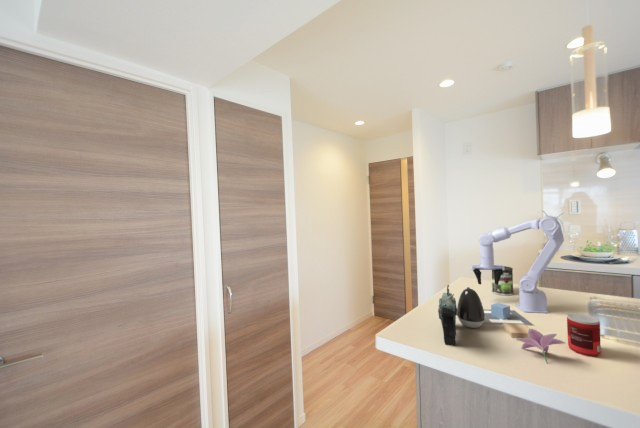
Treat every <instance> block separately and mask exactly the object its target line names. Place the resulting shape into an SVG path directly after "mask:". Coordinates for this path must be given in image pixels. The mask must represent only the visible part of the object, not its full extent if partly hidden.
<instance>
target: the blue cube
mask: <svg viewBox="0 0 640 428" xmlns="http://www.w3.org/2000/svg"><path fill="white" fill-rule="evenodd" d="M490 308H491V309H490V310H491V316H493V317H496V318H499V319H502V320H505V319H508V318H510V310H511V306H510V305H507V304H504V303H501V302H495V303H492V304H490Z"/></svg>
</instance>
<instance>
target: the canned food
mask: <svg viewBox="0 0 640 428" xmlns="http://www.w3.org/2000/svg"><path fill="white" fill-rule="evenodd" d="M566 325H567V326H566V327H567V329H566V330H567V331H566V332H567V346H568V348H569V349H570V350H571V351H573V352H574V353H576V354H579V355H582V356H587V357H592V358H593V357H595V358H597V357H599V356H600V355H601V352H602V350H601V349H602V348H601V347H602V346H601V324H600V320H599V319H598V318H597V317H595V316H592V315H588V314H584V313H583V314H582V313H579V312H578V313H575V312H573V313H568V314H567V315H566Z"/></svg>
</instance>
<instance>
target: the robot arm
mask: <svg viewBox="0 0 640 428" xmlns="http://www.w3.org/2000/svg"><path fill="white" fill-rule="evenodd" d="M539 229H541V231H543V232H544V233H545V235H546V237H547V239H548V241H547V242H546V243H545V245H544V247H543V248H542V250H541V251H540V253H539V255H538V256H537V258H536V259H535V260H534V262H533V264H532V265H531V267H530V268H529V269H528V271H527V273H525V274H523V275H522V276H521V278H520V279H519V281H518V286H519V287H518V294H519V295H518V296H519V298H518V299H519V300H518V301H519V304H516V305H515V307H516V308H518V309H519V310H520V311H522V312H523V313H537V314H538V313H539V314H540V313H542V314H548V313H549V311H548V301H547V300H548V299H547V294H546V293H545V292H544V291H543V290H540V289H538V288H537V286H538V283H539V280H540V278H541V276H542V275H543V273H544V272H545V270H546V268H547V267H548V266H549V264H550V263H551V262H552V259H553V258H554V257H555V256H556V254H557V252H558V250H559V249H560V248H561V246H562V245H563V243H564V241H565V238H564V234H563V230H562V225H561V223H560V222H559V220H558V219H557V218H555V217H554V216H550V215H549V216H548V215H546V216H544V217H542V218H541V217H539V218H536V219H530V220H527V221H525V222H522V223H519V224H516V225H514V226H511V227H509V228H508V227H505V226H503V227H501V226H499V227H497V229H493V230H491V231H490V230H488V231H487V233H483V234H481V235H479V237H478V242H479V255H480V256H479V257H480V259H479V260H480V264H478V265H470V269H471V271H472V272H473V274H474V275H475V277H476V280H477V281H476V282H477V284H478V285H482V279H481V278H482V271H483V270H484V271H487V270H488V271H491V270H494V276H495V284H496V285H498V283H499V279H500V277H501V275H502V274H503V271H502V270H504V265H499V264H496V265H495V259H494V257H495V255H494V244H493V243H498V242H502V241H504V240H505V241H506V240H508V239H510V238H511V236H512V235H514V234H517V233H520V232H524V231H527V230H539Z"/></svg>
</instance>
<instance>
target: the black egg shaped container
mask: <svg viewBox="0 0 640 428" xmlns="http://www.w3.org/2000/svg"><path fill="white" fill-rule="evenodd" d="M456 307H457V315H456V317H457V319H458V321H459V322H460V323H461V324H462V325H463V326H465V327H467V328H471V329H477V328H480V327H481V326H482V325H483V324H484V320H485V314H484V309H485V308H484V307H483V302H482V300H481V298H480V296H479V295H478V293H477V291H475V290H474V289H473V288H470V287H466V288H465V289H463V291H462V292H461V293H460V296H459V297H458V302H457V304H456Z"/></svg>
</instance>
